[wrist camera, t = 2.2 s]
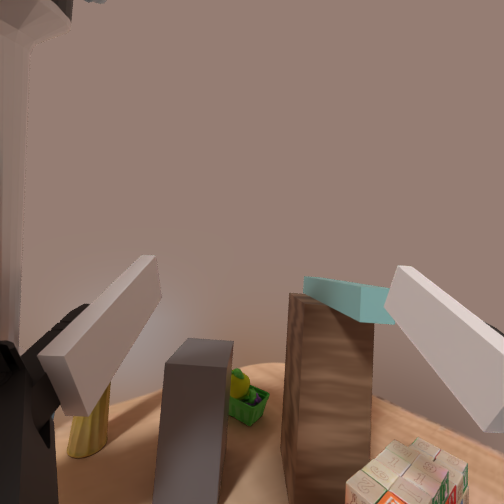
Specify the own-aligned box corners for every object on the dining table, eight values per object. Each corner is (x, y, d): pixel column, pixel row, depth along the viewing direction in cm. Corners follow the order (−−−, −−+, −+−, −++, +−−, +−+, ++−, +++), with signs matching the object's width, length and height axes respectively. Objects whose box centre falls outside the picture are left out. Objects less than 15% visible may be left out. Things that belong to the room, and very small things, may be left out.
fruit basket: (269, 415, 55) (272, 366, 56) (248, 436, 48) (251, 379, 49) (232, 397, 62) (236, 353, 63) (208, 413, 55) (212, 363, 55)
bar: (394, 324, 23) (395, 289, 23) (359, 322, 23) (361, 286, 23) (319, 294, 49) (320, 277, 49) (303, 292, 49) (304, 276, 49)
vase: (77, 434, 45) (85, 359, 46) (112, 432, 46) (119, 359, 47) (58, 460, 39) (68, 373, 40) (99, 457, 40) (108, 372, 41)
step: (216, 515, 32) (226, 367, 34) (151, 510, 32) (165, 363, 34) (226, 448, 44) (233, 341, 46) (179, 444, 44) (188, 337, 46)
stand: (367, 534, 31) (374, 308, 33) (292, 528, 31) (304, 303, 33) (331, 451, 45) (338, 296, 47) (280, 448, 45) (289, 292, 47)
